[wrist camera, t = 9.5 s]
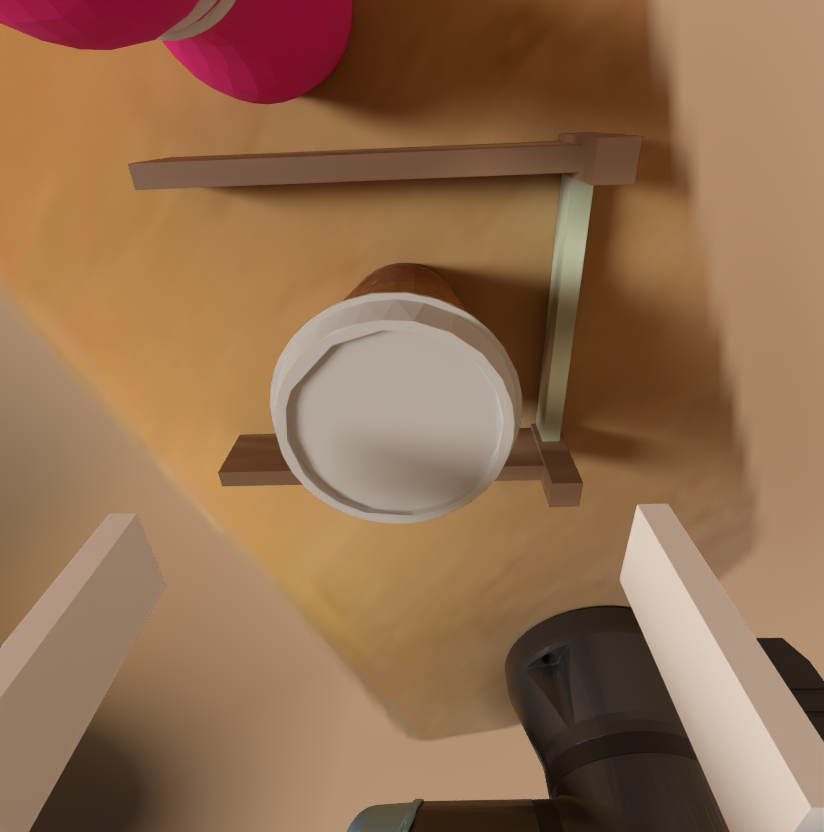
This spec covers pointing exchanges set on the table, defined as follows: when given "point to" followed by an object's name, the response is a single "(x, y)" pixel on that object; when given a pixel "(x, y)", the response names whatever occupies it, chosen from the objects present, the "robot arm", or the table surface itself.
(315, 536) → the table surface
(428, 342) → the disposable coffee cup
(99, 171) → the table surface
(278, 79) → the pepper mill
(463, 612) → the table surface
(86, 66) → the table surface
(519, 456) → the bay
